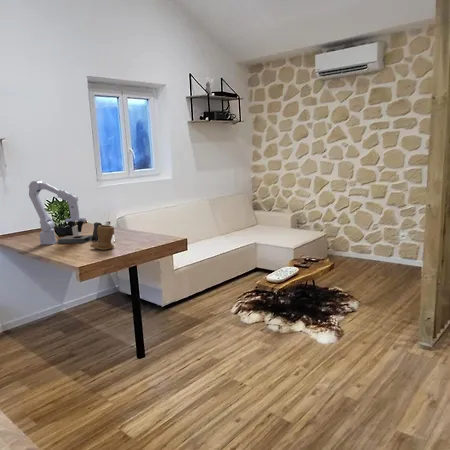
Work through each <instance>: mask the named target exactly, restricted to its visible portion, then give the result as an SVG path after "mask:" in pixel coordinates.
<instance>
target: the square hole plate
mask: <svg viewBox="0 0 450 450" xmlns="http://www.w3.org/2000/svg"><path fill="white" fill-rule="evenodd" d="M92 236H93V234H85V235H82V234H80V235H65V236H63V237H60V238H57V241H58V242H57V243H58V245H59V244H63V245H64V244H85V243H87V242H90V241H93V240H92Z"/></svg>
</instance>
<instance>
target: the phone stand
mask: <svg viewBox="0 0 450 450" xmlns="http://www.w3.org/2000/svg"><path fill="white" fill-rule="evenodd" d="M99 225H103V224H102V223H101V222H97V221H96V222H94V223H93V226H94V227H93V232H92V240H91V241H94V242H99V238H98V235H97V228H98V226H99Z"/></svg>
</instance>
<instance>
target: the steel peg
mask: <svg viewBox="0 0 450 450" xmlns="http://www.w3.org/2000/svg"><path fill="white" fill-rule="evenodd" d="M71 231H72V236H79V235H82V231H81V232H79V230H78V225H75V226H73V227H72V229H71Z"/></svg>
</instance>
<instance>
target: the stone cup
mask: <svg viewBox="0 0 450 450" xmlns="http://www.w3.org/2000/svg"><path fill="white" fill-rule="evenodd" d="M114 229H115V228H114V227H113V226H112V225H107V224H102V225H99V226H98V228H97V235H98V238H99V241H96V242H94V243H91V244H90V245H89V247H90V248H94V249H96V250H101V251H104V250H111V249H114V248H115V245H114V244H113V243H112V240H113V236H114V232H115V230H114Z"/></svg>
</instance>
